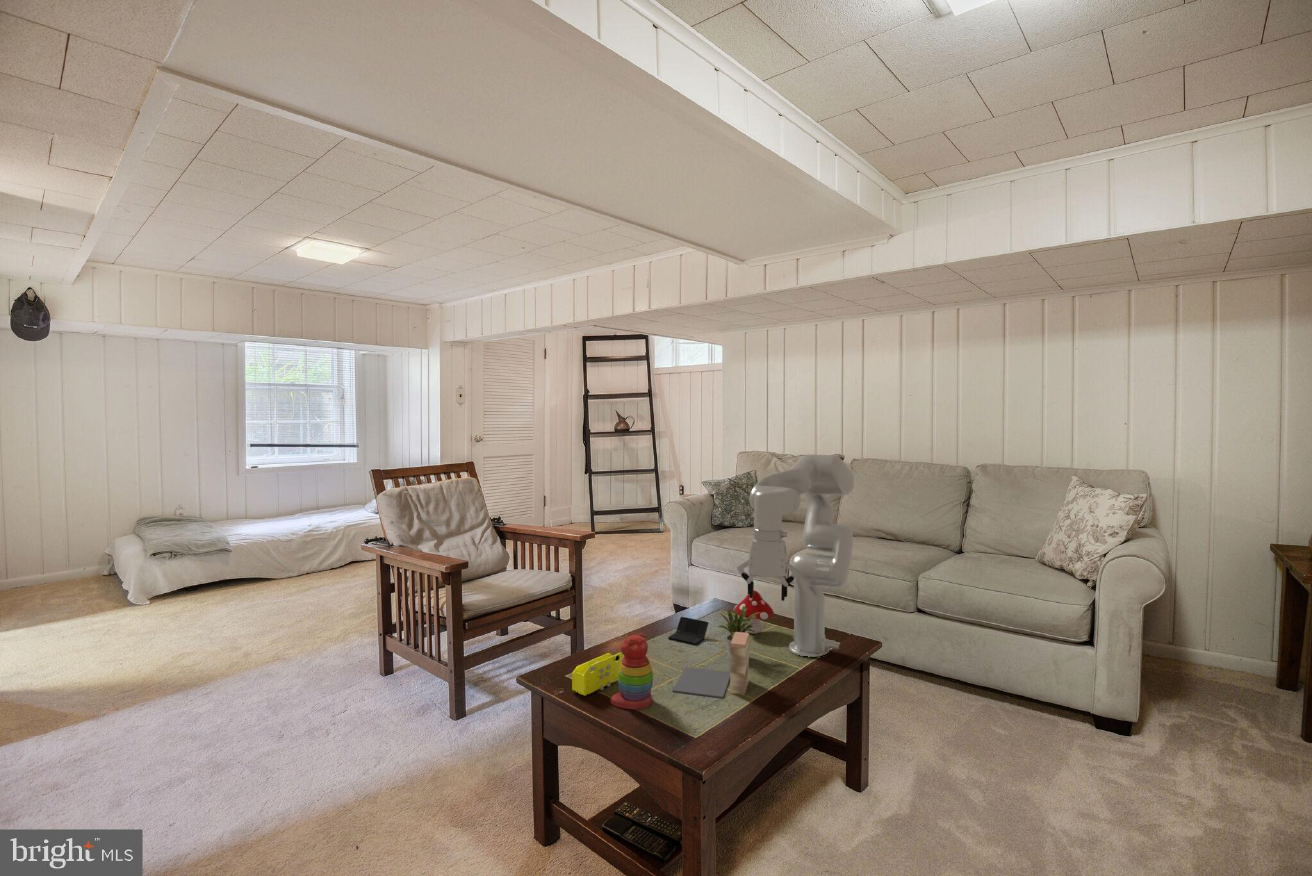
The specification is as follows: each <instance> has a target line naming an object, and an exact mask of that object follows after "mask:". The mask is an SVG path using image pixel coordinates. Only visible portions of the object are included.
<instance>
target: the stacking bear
mask: <svg viewBox="0 0 1312 876" xmlns="http://www.w3.org/2000/svg"><path fill="white" fill-rule="evenodd" d="M648 649H649V646H648V642H647V640H646V639H645V634H644V633H639V635H638V634H634V635H633V634H632V635H630V636H628V637H626V639H625V640H624V642H622V644H621V645H620V650H621V653H622V654H623V655H624V657H623V658H622V661H621V664H620V669H619V673H618V681H617V682H618V683H617V684H618V689H619V692H617V693H615V694H613V695H612V696H611V697H610V701H609V702H610V704H611V705H612V706H615V707H617V708H621V709H627V710H641V709H644V708H648V707H650V705H651V704H653V695H652V693H651V692H652V690H653V689H652V687H653V682H654V671H653V668H652V663H651V661H650V659H649V657H647V653H648Z"/></svg>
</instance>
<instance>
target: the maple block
mask: <svg viewBox="0 0 1312 876" xmlns="http://www.w3.org/2000/svg"><path fill="white" fill-rule="evenodd" d="M729 659H730V664H729V665H730V666H729V667H730V670H729V672H730V680H729V682H730V685H729V686H730V688H729V690H730V693H729V694H733V695H742V696H745V695H746V692H747V689H748V685H749V682H750V633H749V632H745V633H743V632H735V634H734V636H733V639H732V641H731V656H730V658H729Z"/></svg>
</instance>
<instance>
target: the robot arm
mask: <svg viewBox="0 0 1312 876" xmlns="http://www.w3.org/2000/svg"><path fill="white" fill-rule="evenodd" d="M854 487H855V477H854V475H853V472H852V470H851V469H850V468H849V467H848V465H847V464H846V463H845V461H844V460H842V458H841V457H839V456H837V455H834V454H833V455H832V454H831V455H828V454H805V455H802V456H801V457H800V458H799V459H798V460H797V461H796V462H795V463H794V464H793V465H792V466H791V467H790V468H788V469H787V470H781V471H780V472H777V473H773V474H770V475H768V476H767V475H766V476H765V477H762V479H760V480H759V481H758V482H757V483H756V484H755V485H754V486H753V487H752V489H751V490H750V494H749V499H748V501H749V505H750V507H751V508H752V509H753V512H754V513H753V515H754V516H753V517H754V518H753V525H754V526H753V537H752V538H751V541H750V547H749V555H748V558H749V559H747V560H746V561H744V562H743V563H741V564H739V565H737V566H736V569H737V571H738V574H740V576H741V577H742V579H743V580H744V581H745V582H746V584H747V595H748V594H750V598H753V595H754V591H755V587H754V586H755V585H754V583H755V582H754V579H755V577H759V578H760V577H762V578H763V577H764V578H773V579H774V578H776V579H779V580H780V582H781V583H782V584H781V596H780V597H781V601H782V602H785V599H786V598H787V597H788V586H789V585H790V584H791V583H792V582H793V589H794V602H793V603H794V604H793V605H794V607H793V608H794V614H793V615H794V616H793V617H794V619H793V623H794V624H793V625H794V626H793V633H794V634H793V641H791V642H790V643H789V644H788V645H789V646H788V649H789V651H790V652H791V653H792V654H794V655H797V656H799V655H800V657H803V656H808V657H807V658H810V656H822V655H825V654H827V653H828V652H829V653H830V649H834V650H840V643H839V642H836V640H831V639H830V640H829V639H828V638H826V634H825V620H826V618H825V617H826V616H825V614H826V612H825V611H826V605H825V604H826V600H825V599H826V598H825V594H824V593H823V590H822V588H821V587H827V588H828V587H829V588H836V589H841V588H844V587H845V586H846V583H847V582H848V578H849V570H850V565H851V560H852V554H853V545H854V536H853V531H852V529H851V528H850V527H849V526H848V525H847V524H846V525H845V524H841V523H840V524H839V523H833V518H834V513H835V512H834V511H835V510H834V506H833V504H832V503H831V502H830V500H829V499H828V498H827V496H826V495H835V496H847V495H850V493H851V492H852V491H853V490H854ZM800 495H804V497H805V499H806V506H807V507H806V508H807V509H806V510H807V511H806V516H805V520H804V527H803V532H802V538H801V539H802V541H801V542H802V544H803V547H804V548H805V549H808V550H810V551H815V552H821V553H830V554H834V556H831V555H824V554H819V553H811V552H801V553H798V554H796V555H795V556H794V557H793V559H792V561H791V564H790V563H789V562H788V561H787V559H788V558H787V547H786V542H785V539H784V538H787V537H788V532H787V531H784V530H783V515H792V514H794V513H796V512H797V511H798V510H799V508H800V506H801V500H802V499H801V496H800ZM747 567H748V573H749V574H748V573H747V572H746V571H745V568H747ZM787 570H788V571H789V572H791V574H790V575H789V576H788V577H787V576H786V574H787V572H788V571H787Z"/></svg>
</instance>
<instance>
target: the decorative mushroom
mask: <svg viewBox="0 0 1312 876" xmlns="http://www.w3.org/2000/svg"><path fill="white" fill-rule="evenodd" d="M763 598H764V597H763V596H762V594H761V593H760V592H758V591H757V590H754V595H753V598H750V594H748V593H747V594H746V596H745V597H743V598H742V600H741V601H740V602H739V603H738V604H736V605H734V607H735V609H736V612H737V615H738V617H739V616H740V613H741V611H742V609H743V607H744V609H745V608H747V609H746V612H745V617H744V619H746V618H748V617H749V616H751V615H752V614H754V613H757V614H755V615H754V617H757V616H758V617H757V618H751V619H750V620H749V621H748V625H746V626H745V627H747V626H749V625H750V624H752V623H755V624H752V626H753V627H752V628H749V629H751V630H754V631H755V633H756V634H755V633H754V632H752V631H748V630H747V631H746V632H747V633H749V634H755V635H757V634H759V633H761V632H762V629H763V628H762V623H761V620H766V619H769V618H772V616H774V614H775V612H774V610H773V608H772V607H771V605H770V604H769V603H768V602H767V601H765V599H763ZM732 610H733V612H734V613H735V611H734V608H733V609H732ZM758 612H760V613H758ZM750 622H751V623H750Z"/></svg>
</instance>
